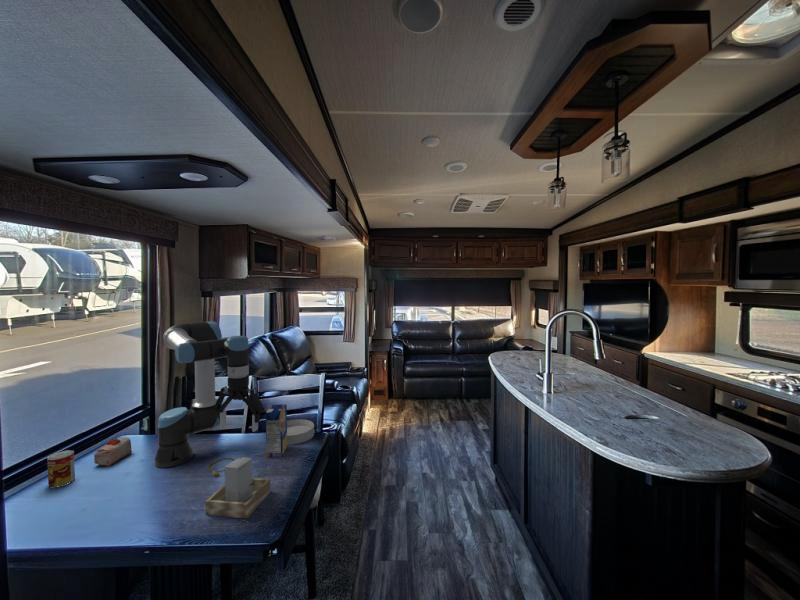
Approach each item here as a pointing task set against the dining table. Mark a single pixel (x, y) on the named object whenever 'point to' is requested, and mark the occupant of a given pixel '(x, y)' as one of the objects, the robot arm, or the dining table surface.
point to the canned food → (61, 468)
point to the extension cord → (218, 471)
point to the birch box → (238, 509)
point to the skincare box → (239, 480)
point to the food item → (113, 451)
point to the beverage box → (276, 430)
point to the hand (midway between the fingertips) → (239, 429)
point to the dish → (299, 431)
